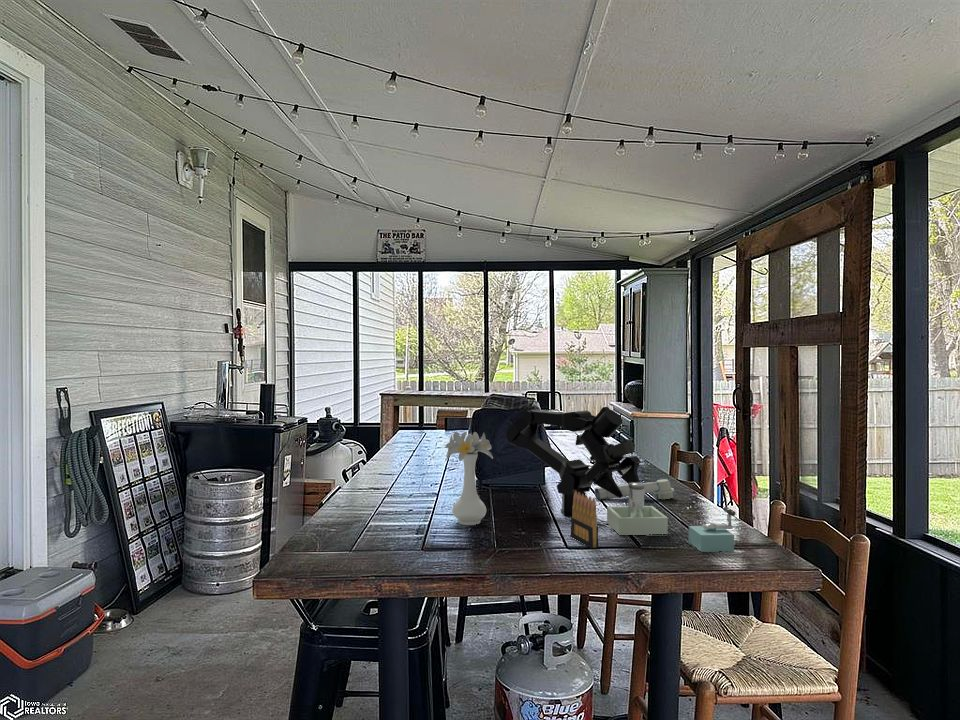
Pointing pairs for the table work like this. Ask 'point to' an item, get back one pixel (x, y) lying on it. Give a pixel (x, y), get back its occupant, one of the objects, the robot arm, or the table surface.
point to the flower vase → (468, 476)
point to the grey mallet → (659, 488)
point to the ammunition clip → (584, 520)
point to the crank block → (711, 539)
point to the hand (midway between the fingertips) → (631, 494)
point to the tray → (637, 521)
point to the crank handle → (721, 526)
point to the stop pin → (636, 499)
